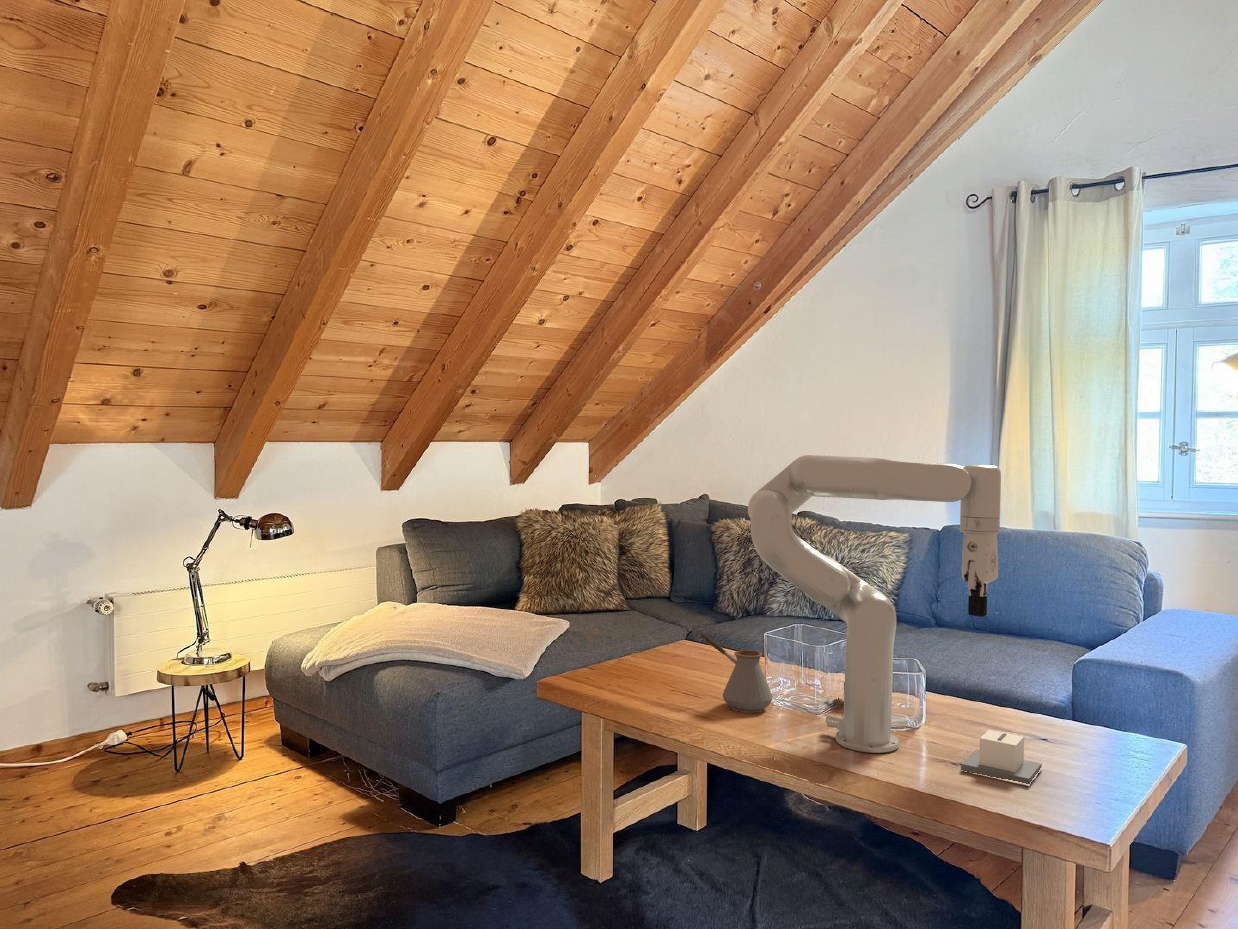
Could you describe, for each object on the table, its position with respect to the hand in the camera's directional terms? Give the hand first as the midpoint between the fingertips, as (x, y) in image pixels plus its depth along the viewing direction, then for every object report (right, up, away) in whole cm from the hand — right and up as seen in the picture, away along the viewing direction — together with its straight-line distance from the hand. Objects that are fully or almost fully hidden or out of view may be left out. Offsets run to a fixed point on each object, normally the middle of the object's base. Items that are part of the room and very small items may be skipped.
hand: (977, 615), depth 183 cm
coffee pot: (-47, -26, +29) cm, 61 cm away
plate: (-1, -27, -13) cm, 30 cm away
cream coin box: (-1, -26, -13) cm, 29 cm away
